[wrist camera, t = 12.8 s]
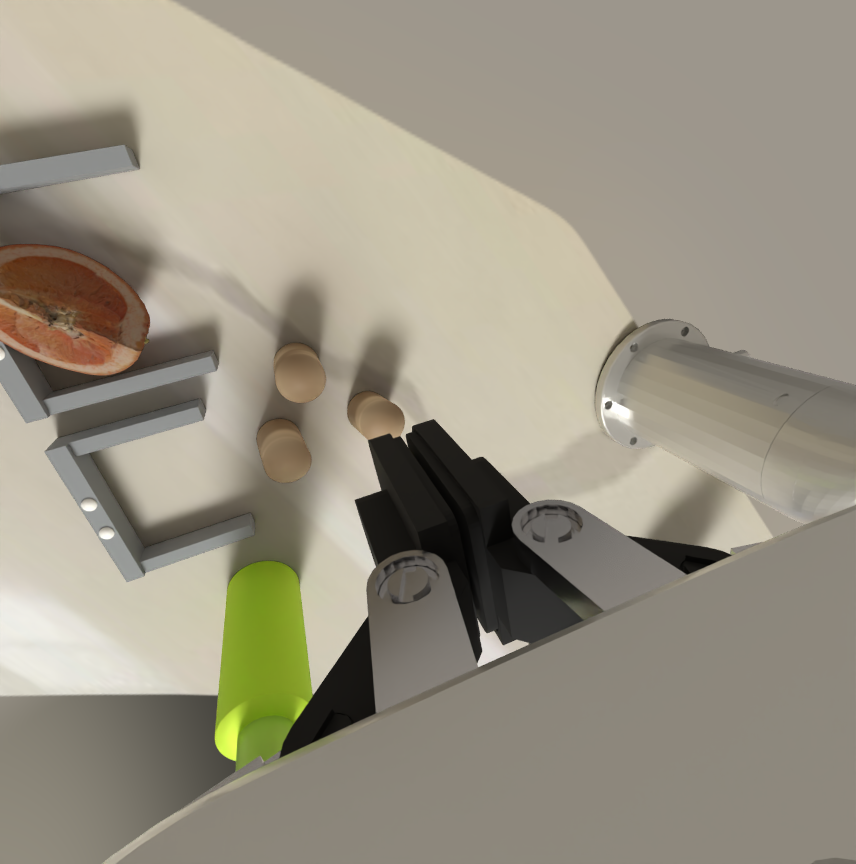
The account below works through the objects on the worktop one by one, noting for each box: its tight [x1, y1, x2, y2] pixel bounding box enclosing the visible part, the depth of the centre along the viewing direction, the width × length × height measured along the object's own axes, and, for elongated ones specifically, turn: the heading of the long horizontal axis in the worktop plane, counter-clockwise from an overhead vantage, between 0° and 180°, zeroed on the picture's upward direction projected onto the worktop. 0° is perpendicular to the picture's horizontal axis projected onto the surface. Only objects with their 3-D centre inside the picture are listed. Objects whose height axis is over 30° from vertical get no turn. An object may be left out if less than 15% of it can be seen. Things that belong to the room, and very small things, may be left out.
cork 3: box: [347, 391, 405, 440], centre depth 36 cm, size 3×3×4 cm
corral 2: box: [45, 398, 255, 582], centre depth 34 cm, size 9×11×2 cm
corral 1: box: [0, 145, 219, 423], centre depth 28 cm, size 11×13×2 cm
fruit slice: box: [0, 244, 150, 375], centre depth 27 cm, size 8×7×5 cm
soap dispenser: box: [215, 561, 313, 771], centre depth 32 cm, size 6×7×20 cm
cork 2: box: [256, 419, 311, 483], centre depth 34 cm, size 3×3×4 cm
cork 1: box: [274, 343, 326, 403], centre depth 33 cm, size 3×3×4 cm
